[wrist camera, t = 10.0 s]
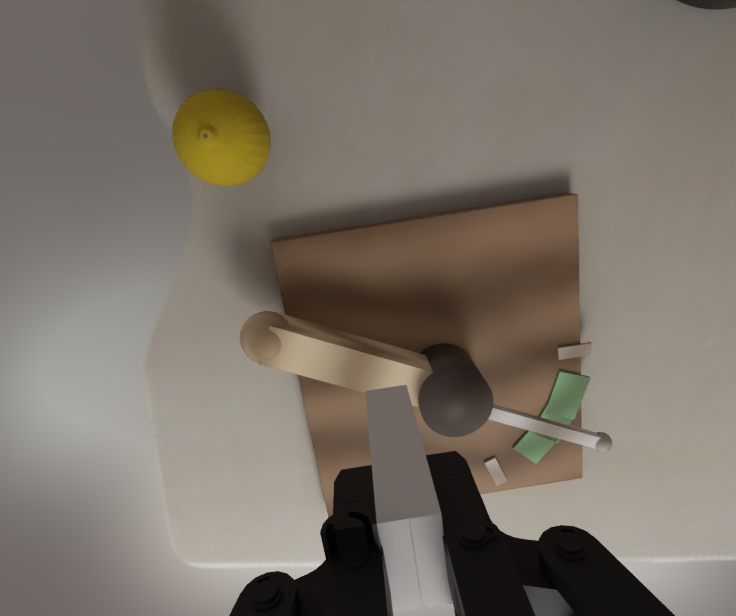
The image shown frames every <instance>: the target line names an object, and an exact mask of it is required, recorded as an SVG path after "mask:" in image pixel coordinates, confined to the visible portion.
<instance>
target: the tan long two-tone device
mask: <svg viewBox="0 0 736 616" xmlns="http://www.w3.org/2000/svg"><path fill="white" fill-rule="evenodd" d="M240 343H241V347H242V349H243V351H244V353H245V354H246V355H247V356H248V357H249V358H250V359H252V360H253V361H255V362H258V363H259V364H261V365H264V366H268V367H272V368H276V369H279V370H283V371H287V372H290V373H294V374H298V375H301V376H305V377H309V378H312V379H316V380H320V381H323V382H327V383H331V384H334V385H338V386H342V387H345V388H349V389H353V390H357V391H360V392H364V393H365V391H368V390H375V389H381V388H387V387H394V386H400V385H407V388H408V392H409V396H410V399H411V403H412V406H415V407H419V408H420V412H421V415H422V418H423V420H424V422H425V423H426V425H427V426H428V427H429V428H430V429H431V430H433V431H434V432H436V433H438V434H440V435H443V436H447V437H461V436H465V435H468V434H471V433H473V432H475V431H476V430H478V429H479V428H481V427H482V426H483V425H484V424H485V423H486V421H487V420H488V419H489V420H492V421H496V422H500V423H503V424H507V425H511V426H514V427H518V428H522V429H525V430H529V431H533V432H536V433H540V434H544V435H547V436H551V437H555V438H558V439H562V440H565V441H569V442H573V443H576V444H580V445H584V446H587V447H591V448H594V449H595V450H596V451H598V452H607V451H609V450H610V449H611V447H612V440H611V438H610V436H609V435H607V434H606V433H603V432H597V433H595V432H592V431H588V430H585V429H581V428H577V427H574V426H570V425H567V424H563V423H559V422H556V421H552V420H549V419H545V418H542V417H538V416H534V415H531V414H527V413H524V412H520V411H516V410H513V409H509V408H506V407H502V406H499V405H495V404H493V403H494V400H493V393H492V391H491V388H490V387H489V385H488V383H487V382H486V380H485V379H484V377H483V376H482V374H481V373H480V371H479V369H478V368H477V366H476V365H475V363H474V362H473V360H472V359H471V357H470V356H469V354H468V353H467V352H466V351H465V350H463V349H462V348H460V347H459V346H456V345H453V344H448V343H441V344H436V345H432V346H430V347H428V348H426V349H425V350H423V351H422V352H421V353H416V352H413V351H409V350H406V349H402V348H399V347H395V346H392V345H389V344H385V343H382V342H378V341H375V340H371V339H368V338H364V337H361V336H357V335H354V334H350V333H347V332H343V331H340V330H337V329H333V328H330V327H326V326H323V325H319V324H316V323H312V322H309V321H305V320H302V319H298V318H295V317H291V316H288V315H285V314H281V313H278V312H270V311H264V312H259V313H256V314H254V315H253V316H251V317H250V318H249V319H248V320H247V321H246V322H245V323H244V325H243V327H242V329H241V332H240Z"/></svg>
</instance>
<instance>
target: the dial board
mask: <svg viewBox="0 0 736 616" xmlns="http://www.w3.org/2000/svg"><path fill="white" fill-rule="evenodd" d="M271 248H272V253H273V257H274V262H275V267H276V271H277V276H278V281H279V286H280V290H281V295H282V300H283V305H284V309H285V314H286V315H288V316H291V317H295V318H298V319H302V320H305V321H309V322H312V323H316V324H319V325H323V326H326V327H330V328H333V329H337V330H340V331H343V332H347V333H350V334H354V335H357V336H361V337H364V338H368V339H371V340H375V341H378V342H382V343H385V344H389V345H392V346H395V347H399V348H402V349H406V350H409V351H413V352H416V353H421V352H422V351H423V350H425V349H426V348H428V347H430V346H432V345H436V344H441V343H448V344H453V345H456V346H459V347H460V348H462V349H463V350H465V351H466V352H467V353H468V354H469V356H470V357H471V359H472V360H473V362H474V363H475V365H476V366H477V368H478V369H479V371H480V373H481V374H482V376H483V377H484V379H485V380H486V382H487V383H488V385H489V387H490V388H491V391H492V393H493V400H494V403H493V404H495V405H499V406H502V407H506V408H509V409H513V410H516V411H520V412H524V413H527V414H531V415H534V416H538V417H542V418H545V419H549V420H552V421H556V422H559V423H563V424H567V425H570V426H574V427H577V428H581V401H582V398H583V396H584V393H585V390H586V388H587V385H588V383H589V380H590V377H589V376H584V375H581V369H580V357H582V356H588V355H592V348H591V342H588V343H582V344H580V309H579V248H578V194H572V193H568V194H562V195H556V196H549V197H543V198H536V199H530V200H524V201H517V202H511V203H505V204H498V205H492V206H486V207H479V208H473V209H466V210H460V211H454V212H447V213H441V214H435V215H428V216H422V217H416V218H409V219H403V220H397V221H390V222H384V223H377V224H371V225H365V226H358V227H352V228H346V229H339V230H333V231H327V232H320V233H314V234H307V235H301V236H295V237H288V238H282V239H276V240H272V241H271ZM299 380H300V385H301V390H302V394H303V399H304V404H305V408H306V413H307V418H308V423H309V427H310V432H311V437H312V441H313V446H314V451H315V456H316V460H317V465H318V470H319V475H320V479H321V484H322V489H323V493H324V498H325V503H326V508H327V512H328V517H330V516H331V515H333V497H334V481H335V479H336V477H337V476H338V474H339V472H340V471H341V470H342V469H348V468H355V467H361V466H367V465H372V463H371V451H370V439H369V428H368V416H367V405H366V393H364V392H360V391H357V390H353V389H349V388H345V387H342V386H338V385H334V384H331V383H327V382H323V381H320V380H316V379H312V378H309V377H305V376H301V375H299ZM412 407H413V410H414V414H415V418H416V422H417V425H418V429H419V433H420V436H421V440H422V444H423V447H424V451H425V455H431V454H437V453H443V452H450V451H457V452H458V453H459V454H460V455H461V456H462V457H464V458H465V459H466V460H467V463H468V465H469V468H470V470H471V474H472V475H473V478H474V480H475V484H476V485H477V488H478V490H479V493H480V494H485V493H492V492H498V491H504V490H510V489H517V488H523V487H529V486H535V485H541V484H548V483H554V482H560V481H566V480H573V479H579V478H582V445H580V444H576V443H573V442H569V441H565V440H562V439H558V438H555V437H551V436H547V435H544V434H540V433H536V432H533V431H529V430H525V429H522V428H518V427H514V426H511V425H507V424H503V423H500V422H496V421H492V420H489V419H488V420H487V421H486V423H485V424H484V425H483V426H482V427H481V428H479V429H478V430H476V431H475V432H473V433H471V434H468V435H465V436H461V437H447V436H443V435H440V434H438V433H436V432H434V431H433V430H431V429H430V428H429V427H428V426H427V425H426V423H425V422H424V420H423V418H422V415H421V412H420V408H419V407H415V406H412Z"/></svg>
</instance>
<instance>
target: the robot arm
mask: <svg viewBox="0 0 736 616" xmlns="http://www.w3.org/2000/svg"><path fill="white" fill-rule="evenodd" d="M678 1H680V2H682V3H685V4H687V5H690V6H694V7H698V8H704V9H729V8H735V7H736V0H678ZM365 393H366V405H367V416H368V428H369V439H370V451H371V463H372V465H367V466H361V467H355V468H348V469H342V470H341V471H340V472H339V474H338V476H337V477H336V479H335V481H334V497H333V515H331V516H330V517H329V518H328V519H327V520H326V521H325V522H324V524H323V525H322V529H321V532H320V534H321V538H322V543H323V547H324V552H325V556H326V560H325V561H324V562H323V564H322V565H320V566H319V567H318V568H317V569H316V570H314V571H312V572H310V573H309V574H307V575H304V576H302V577H300V578H298V579H296V580H294V579H293V578H291V576H289V575H288V574H287V573H282V572H279V571H276V572H268V573H265V574H263V575H260V576H258V577H256V578H255V579H254V580H252V581H251V582H250V583H248V584H247V585H246V587H245V588H244V590H243V591H242V592H241V594H240V596H239V597H238V599H237V602H236V604H235V605H234V607H233V609H232V612H231V614H230V616H393V613H395V612H401V611H408V610H415V609H421V608H427V607H434V606H441V605H447V604H452V601H453V605H454V610H455V616H675V615H674V614H673V613H672V612H671V611H670V610H669V609H668V608H667V607H666V606H665V605H664V604H662V602H660V601H659V600H658V599H657V598H656V597H655V596H654V595H653V594H652V593H651V592H650V591H649V590H648V589H647V588H646V587H645V586H644V585H643V584H642V583H641V582H640V581H639V580H638V579H637V578H636V577H635V576H634V575H633V574H632V573H631V572H630V571H629V570H628V569H627V568H626V567H625V566H624V565H623V564H621V562H619V561H618V560H617V559H616V558H615V557H614V556H613V555H612V554H611V553H610V552H609V551H608V550H607V549H606V548H605V547H604V546H603V545H602V544H601V543H600V542H599V541H598V540H597V539H596V538H595V537H593V536H592V535H591V534H589V533H588V532H586V531H585V530H582V529H579V528H577V527H574V526H564V525H561V526H555V527H551V528H549V529H548V530H546V531H544V532H543V533H542V535H541V537H540V538H539V541H535V540H526V539H520V538H515V537H512V536H509V535H507V534H505V533H503V532H502V531H500V530H499V529H498V527H497V526H496V525H495V524H493V523H492V521H491V520H490V518H489V515H488V513H487V510H486V508H485V505H484V503H483V500H482V498H481V495H480V493H479V490H478V488H477V485H476V484H475V480H474V478H473V475H472V474H471V470H470V468H469V465H468V463H467V460H466V459H465V458H464V457H462V456H461V455H460V454H459V453H458V452H457V451H450V452H443V453H437V454H431V455H425V451H424V447H423V444H422V440H421V436H420V433H419V429H418V425H417V422H416V418H415V414H414V410H413V407H412V403H411V399H410V396H409V392H408V388H407V385H400V386H394V387H387V388H381V389H375V390H368V391H365Z"/></svg>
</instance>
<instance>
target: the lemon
mask: <svg viewBox="0 0 736 616" xmlns="http://www.w3.org/2000/svg"><path fill="white" fill-rule="evenodd" d="M172 137H173V142H174V147H175V150H176V152H177V154H178V157H179V159H180V160H181V161H182V163H183V164H184V165H185V167H186V168H187V169H188V170H189V171H190V172H191V173H193V174H194V175H195V176H196V177H198V178H200V179H202V180H204V181H205V182H207V183H210V184H214V185H218V186H235V185H239V184H242V183H245V182H247V181H249V180H250V179H252V178H254V177H255V176H256V175H257V174H258V173H259V172H260V171H261V170H262V169H263V167H264V165H265V163H266V161H267V160H268V156H269V152H270V148H271V141H270V133H269V129H268V125H267V123H266V121H265V119H264V117H263V115H262V113H261V112H260V111H259V110H258V108H257V107H256V106H255V105H254V104H253V103H252V102H250V101H249V100H248V99H246V98H245V97H244V96H242V95H240V94H237V93H235V92H232V91H230V90H222V89H211V90H204V91H201V92H199V93H197V94H195V95H193V96H191V97H190V98H189V99H188V100H186V101H185V102H184V103H183V104H182V106H181V107H180V109H179V110H178V112H177V113H176V116H175V119H174V122H173V130H172Z"/></svg>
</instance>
